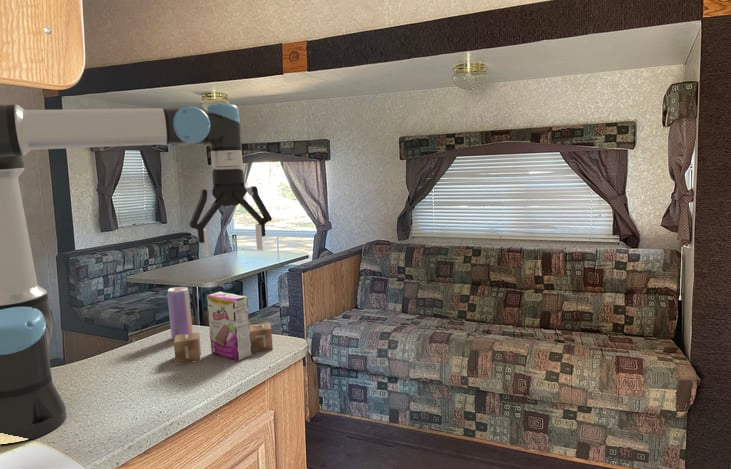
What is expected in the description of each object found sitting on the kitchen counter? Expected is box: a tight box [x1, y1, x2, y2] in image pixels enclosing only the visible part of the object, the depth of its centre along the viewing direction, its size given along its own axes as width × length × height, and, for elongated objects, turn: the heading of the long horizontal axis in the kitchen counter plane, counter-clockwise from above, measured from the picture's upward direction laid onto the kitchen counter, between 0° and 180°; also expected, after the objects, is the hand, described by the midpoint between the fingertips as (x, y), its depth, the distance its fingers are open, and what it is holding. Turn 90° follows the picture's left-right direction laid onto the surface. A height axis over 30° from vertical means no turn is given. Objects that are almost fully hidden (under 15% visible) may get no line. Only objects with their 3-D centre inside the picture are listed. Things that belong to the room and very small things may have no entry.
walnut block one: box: [173, 332, 202, 365], centre depth 144 cm, size 6×6×6 cm
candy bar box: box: [206, 291, 253, 362], centre depth 145 cm, size 11×5×16 cm, turn 54°
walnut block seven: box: [249, 322, 274, 353], centre depth 150 cm, size 6×6×6 cm
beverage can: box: [166, 286, 193, 341], centre depth 160 cm, size 6×6×15 cm
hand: (233, 252), depth 138 cm, fingers open, 13 cm apart
